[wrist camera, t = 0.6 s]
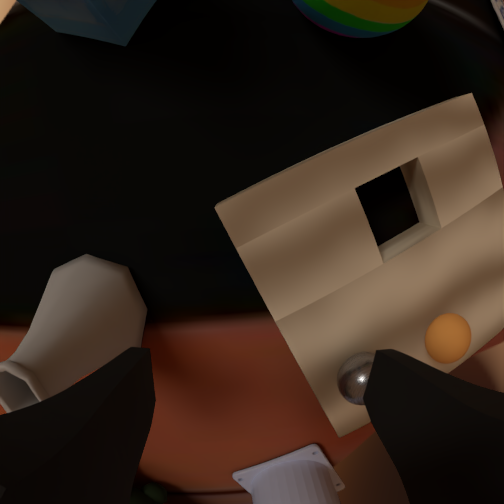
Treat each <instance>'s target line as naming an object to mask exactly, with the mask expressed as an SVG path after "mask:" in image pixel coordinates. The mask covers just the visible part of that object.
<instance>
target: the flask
mask: <svg viewBox="0 0 504 504" xmlns="http://www.w3.org/2000/svg"><path fill="white" fill-rule="evenodd" d="M146 315H147V307H146V305H145V303H144V301H143V299H142V297H141V295H140V293H139V291H138V289H137V286H136V284H135V282H134V280H133V278H132V275H131V273H130V271H129V269H128V267H126V266H123V265H120V264H116V263H113V262H110V261H107V260H104V259H100V258H97V257H94V256H91V255H88V254H85V255H83V256H81V257H79V258H76V259H74V260H72V261H70V262H68V263H66V264H64V265H62V266H60V267H58V268H56V269H54V270H53V272H52V274H51V276H50V279H49V281H48V284H47V287H46V289H45V292H44V294H43V297H42V300H41V302H40V305H39V307H38V309H37V312H36V314H35V317H34V319H33V322H32V324H31V327H30V329H29V331H28V333H27V334H26V336H25V337H24V339H23V341H22V342H21V344H20V345H19V347H18V348H17V350H16V352H15V353H14V354H13V355H12V356H11V357H10V358H9V359H8V360H7V361H4V362H0V404H1V405H2V406H3V408H4V409H5V411H6V412H7V413H9V412H12V411H15V410H19V409H22V408H25V407H27V406H30V405H33V404H36V403H38V402H41V401H43V400H45V399H47V398H50V397H52V396H54V395H56V394H58V393H60V392H62V391H64V390H65V389H67V388H69V387H70V386H71V385H72V384H74V383H75V382H76V381H77V380H78V379H79V378H81V377H82V376H84V375H86V374H88V373H90V372H92V371H94V370H96V369H98V368H100V367H102V366H104V365H105V364H107V363H108V362H109V361H111V360H112V359H114V358H115V357H116V356H118V355H119V354H121V353H122V352H124V351H125V350H127V349H128V348H130V347H139V348H141V343H142V337H143V331H144V326H145V320H146Z"/></svg>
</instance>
